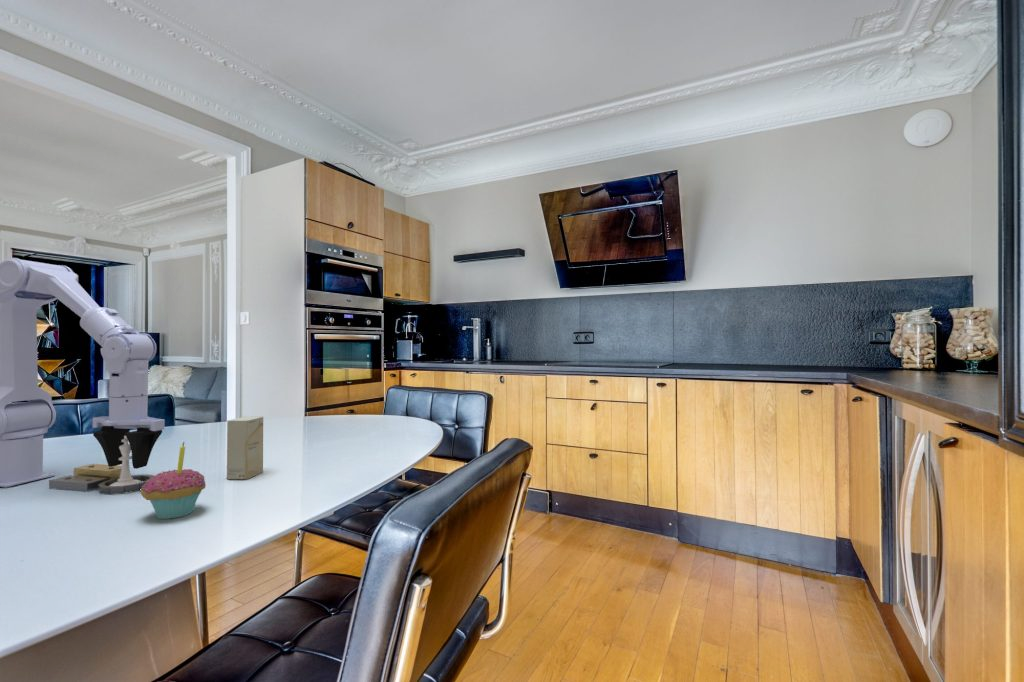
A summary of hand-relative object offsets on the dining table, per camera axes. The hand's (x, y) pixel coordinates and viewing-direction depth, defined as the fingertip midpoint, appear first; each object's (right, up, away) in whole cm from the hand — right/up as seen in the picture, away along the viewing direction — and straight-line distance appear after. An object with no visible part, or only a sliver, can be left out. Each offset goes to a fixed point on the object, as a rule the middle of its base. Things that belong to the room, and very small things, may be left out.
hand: (127, 466), depth 88 cm
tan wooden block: (-9, -4, +4) cm, 10 cm away
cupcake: (+19, -4, -13) cm, 23 cm away
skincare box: (+18, -5, +8) cm, 20 cm away
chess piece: (0, -4, 0) cm, 4 cm away
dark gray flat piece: (-5, -4, +1) cm, 6 cm away
